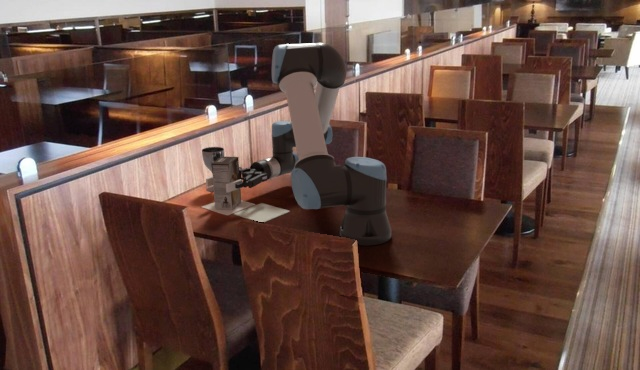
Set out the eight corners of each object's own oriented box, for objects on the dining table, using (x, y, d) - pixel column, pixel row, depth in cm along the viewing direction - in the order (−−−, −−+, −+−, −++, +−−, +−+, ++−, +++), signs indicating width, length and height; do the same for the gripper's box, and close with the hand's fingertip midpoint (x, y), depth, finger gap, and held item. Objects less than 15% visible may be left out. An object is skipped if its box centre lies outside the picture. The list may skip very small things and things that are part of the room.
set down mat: (289, 211, 196) (289, 210, 196) (262, 223, 186) (261, 222, 186) (261, 203, 204) (261, 202, 204) (233, 214, 194) (233, 213, 194)
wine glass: (203, 186, 223) (200, 147, 218) (224, 184, 225) (222, 146, 221) (206, 193, 216) (203, 153, 211) (228, 190, 218) (225, 151, 213)
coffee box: (224, 200, 207) (221, 155, 202) (241, 201, 206) (239, 156, 201) (214, 209, 199) (211, 163, 194) (232, 210, 197) (229, 163, 192)
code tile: (255, 204, 203) (255, 204, 203) (227, 215, 194) (226, 214, 193) (229, 197, 211) (229, 196, 211) (201, 207, 201) (201, 206, 201)
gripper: (287, 185, 207) (240, 203, 191) (243, 174, 221) (196, 190, 204) (286, 164, 205) (238, 180, 189) (242, 155, 218) (194, 169, 202)
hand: (216, 185), depth 196 cm, fingers closed on coffee box, 9 cm apart
